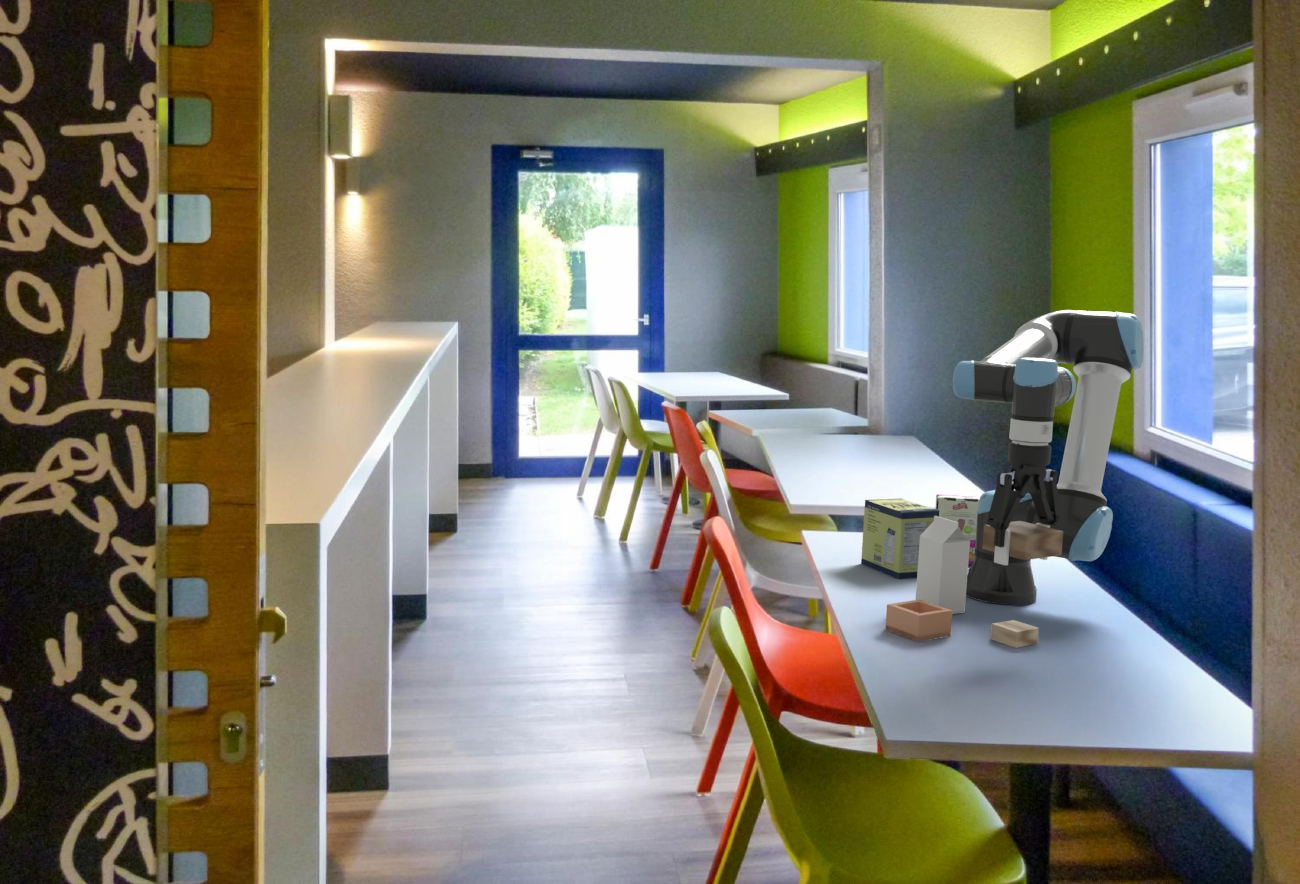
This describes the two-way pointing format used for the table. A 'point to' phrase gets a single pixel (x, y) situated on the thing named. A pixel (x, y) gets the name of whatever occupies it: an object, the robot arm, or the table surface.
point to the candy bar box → (961, 515)
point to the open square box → (918, 620)
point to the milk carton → (943, 565)
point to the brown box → (1027, 540)
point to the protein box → (894, 535)
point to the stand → (1014, 633)
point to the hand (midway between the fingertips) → (1020, 560)
